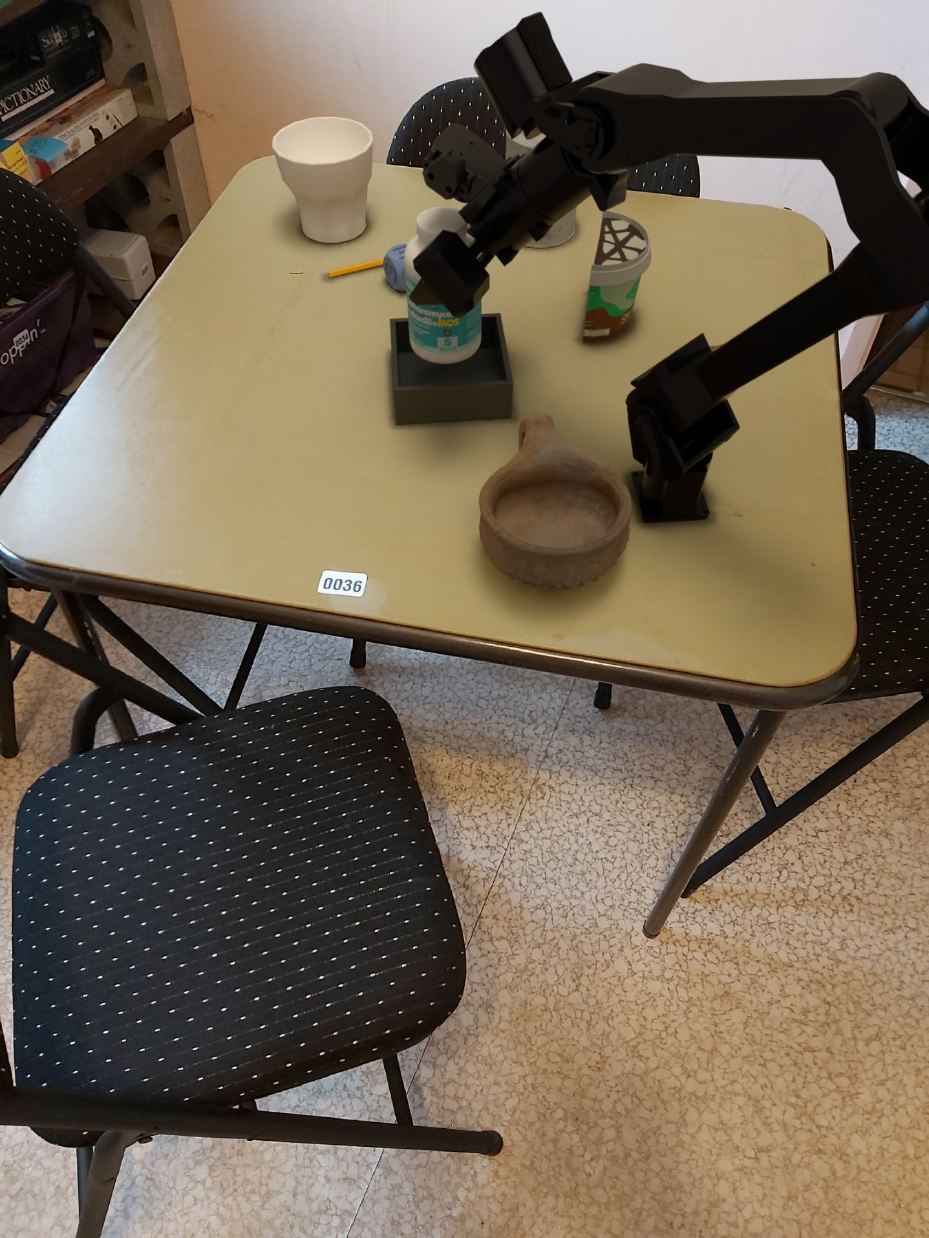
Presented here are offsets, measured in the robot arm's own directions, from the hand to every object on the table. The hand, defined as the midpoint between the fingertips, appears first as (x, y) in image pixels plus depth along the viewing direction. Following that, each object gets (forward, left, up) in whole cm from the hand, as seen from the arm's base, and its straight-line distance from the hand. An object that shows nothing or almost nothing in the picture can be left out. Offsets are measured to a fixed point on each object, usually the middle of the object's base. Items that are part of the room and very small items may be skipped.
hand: (431, 279), depth 82 cm
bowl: (-23, -9, -13) cm, 28 cm away
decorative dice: (+20, +2, -13) cm, 24 cm away
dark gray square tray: (0, -2, -12) cm, 13 cm away
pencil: (+25, +3, -13) cm, 28 cm away
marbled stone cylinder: (+31, -16, -13) cm, 37 cm away
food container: (+10, -22, -13) cm, 27 cm away
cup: (+34, +11, -13) cm, 38 cm away
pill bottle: (-1, -1, -7) cm, 7 cm away
